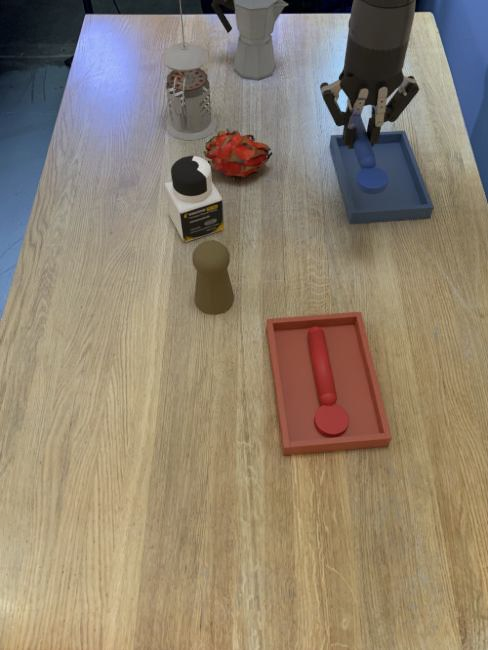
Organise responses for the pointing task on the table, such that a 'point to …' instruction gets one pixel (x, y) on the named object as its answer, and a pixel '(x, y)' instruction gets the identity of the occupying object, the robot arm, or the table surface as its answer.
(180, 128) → the french press
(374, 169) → the blue spoon
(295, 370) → the red tray
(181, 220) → the medicine bottle
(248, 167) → the dragon fruit
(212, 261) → the cork
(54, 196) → the table surface
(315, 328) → the red spoon
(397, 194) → the blue tray
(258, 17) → the coffee maker
